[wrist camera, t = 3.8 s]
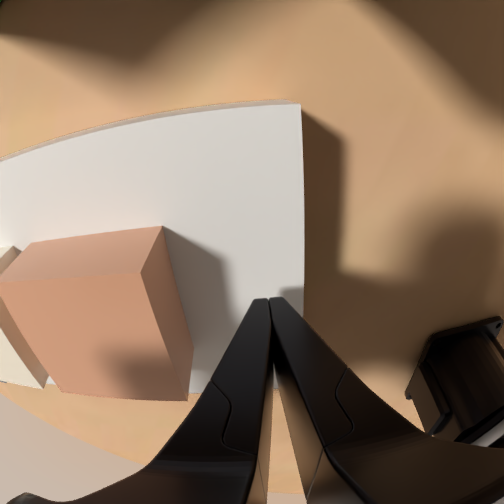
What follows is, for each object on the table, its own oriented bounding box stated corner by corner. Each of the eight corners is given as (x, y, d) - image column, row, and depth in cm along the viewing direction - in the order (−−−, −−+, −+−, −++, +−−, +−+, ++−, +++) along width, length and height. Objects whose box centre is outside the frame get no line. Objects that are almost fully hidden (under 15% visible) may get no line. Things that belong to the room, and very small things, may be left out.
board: (284, 99, 10) (300, 104, 7) (291, 338, 15) (300, 386, 13) (-43, 176, 10) (-81, 200, 7) (29, 342, 15) (10, 376, 13)
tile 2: (162, 225, 9) (140, 272, 7) (194, 348, 11) (187, 400, 9) (31, 242, 9) (-7, 282, 7) (80, 347, 11) (61, 392, 9)
